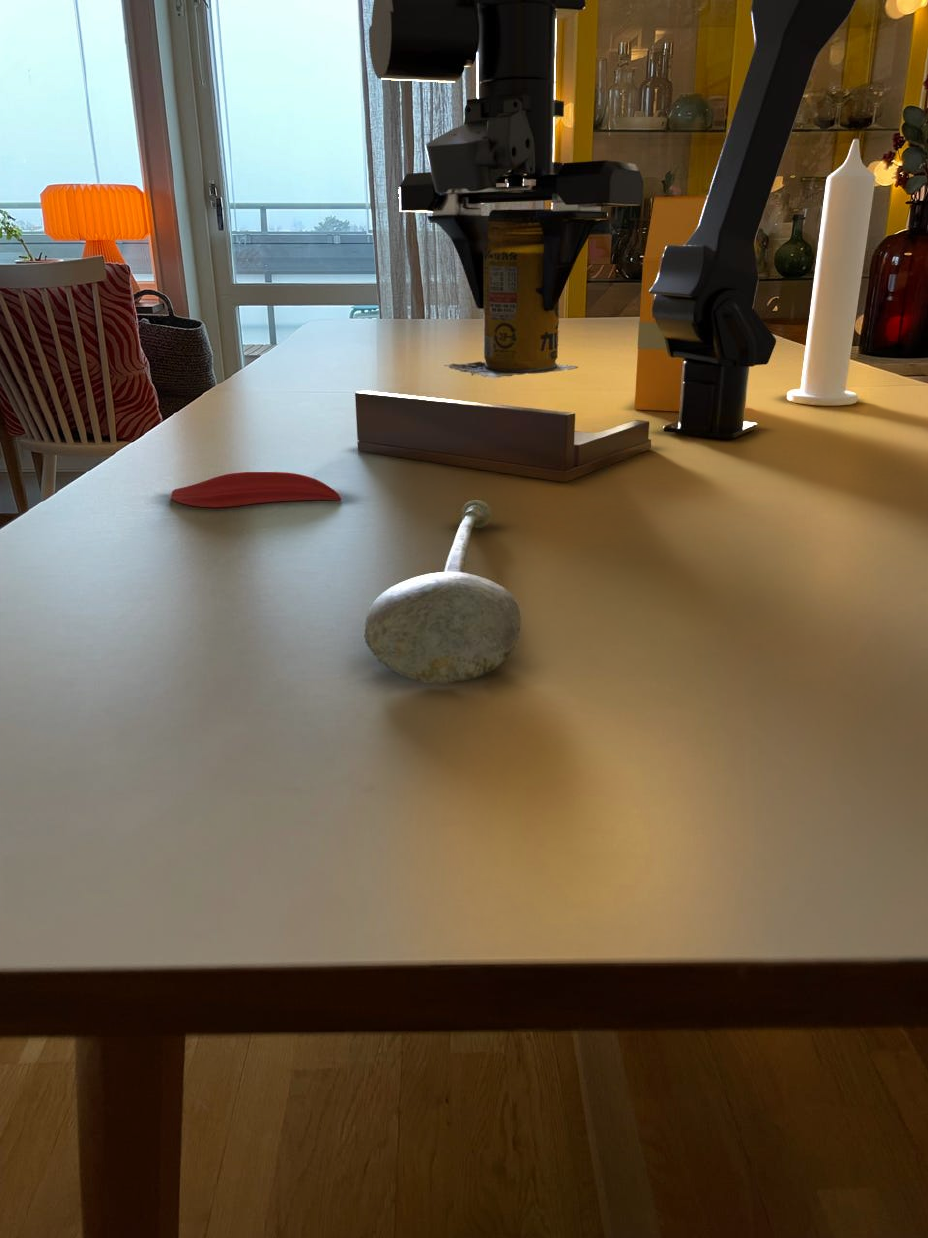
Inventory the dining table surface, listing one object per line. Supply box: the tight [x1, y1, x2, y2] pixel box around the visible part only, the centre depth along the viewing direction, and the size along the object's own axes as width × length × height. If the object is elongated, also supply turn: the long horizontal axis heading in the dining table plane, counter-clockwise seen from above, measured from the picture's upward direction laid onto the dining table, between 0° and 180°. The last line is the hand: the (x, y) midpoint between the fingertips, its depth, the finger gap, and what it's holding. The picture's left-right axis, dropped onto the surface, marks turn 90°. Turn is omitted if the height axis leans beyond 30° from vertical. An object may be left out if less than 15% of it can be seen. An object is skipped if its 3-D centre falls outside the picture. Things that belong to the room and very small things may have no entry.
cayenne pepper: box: [170, 471, 342, 508], centre depth 63 cm, size 12×5×2 cm, turn 79°
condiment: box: [443, 208, 579, 379], centre depth 74 cm, size 7×8×12 cm
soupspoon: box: [363, 499, 522, 684], centre depth 46 cm, size 22×3×7 cm
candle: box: [786, 138, 876, 407], centre depth 95 cm, size 7×7×25 cm
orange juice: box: [633, 195, 708, 412], centre depth 94 cm, size 8×9×20 cm
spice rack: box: [354, 390, 652, 483], centre depth 77 cm, size 14×20×5 cm
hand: (514, 309), depth 74 cm, fingers closed on condiment, 6 cm apart
